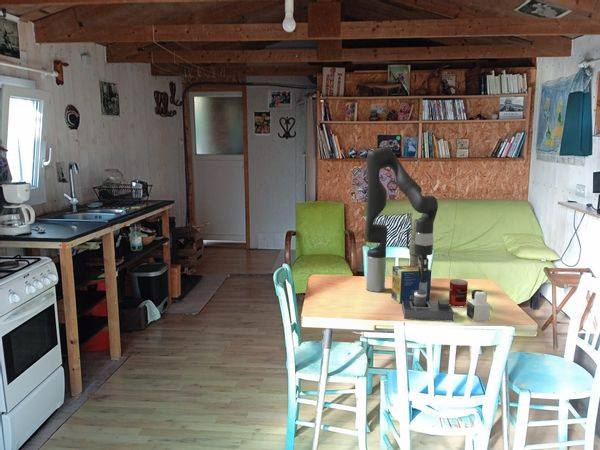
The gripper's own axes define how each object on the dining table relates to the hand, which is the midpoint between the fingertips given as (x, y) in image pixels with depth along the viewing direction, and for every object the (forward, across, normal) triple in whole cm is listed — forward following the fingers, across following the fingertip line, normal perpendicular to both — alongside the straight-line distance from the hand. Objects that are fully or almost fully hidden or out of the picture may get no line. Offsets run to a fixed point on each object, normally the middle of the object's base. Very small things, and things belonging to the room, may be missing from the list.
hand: (422, 279), depth 221 cm
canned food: (+16, -16, +19) cm, 29 cm away
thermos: (+16, -43, +3) cm, 46 cm away
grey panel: (+15, +1, +2) cm, 15 cm away
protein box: (+16, -20, -2) cm, 26 cm away
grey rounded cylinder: (+15, 0, -1) cm, 15 cm away
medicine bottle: (+15, +3, +24) cm, 28 cm away
